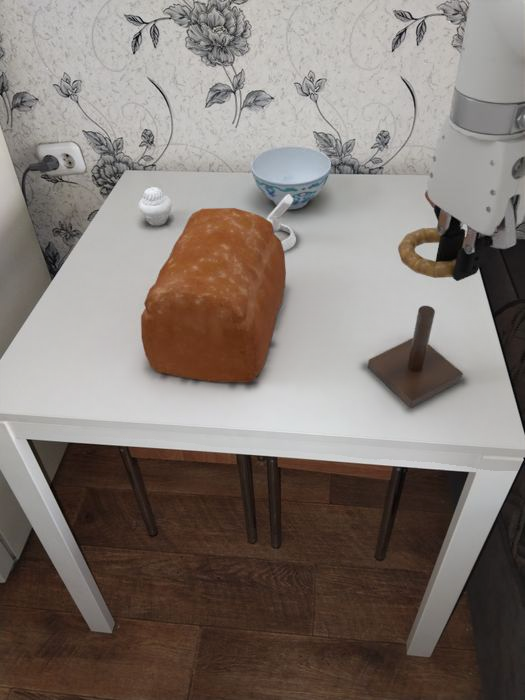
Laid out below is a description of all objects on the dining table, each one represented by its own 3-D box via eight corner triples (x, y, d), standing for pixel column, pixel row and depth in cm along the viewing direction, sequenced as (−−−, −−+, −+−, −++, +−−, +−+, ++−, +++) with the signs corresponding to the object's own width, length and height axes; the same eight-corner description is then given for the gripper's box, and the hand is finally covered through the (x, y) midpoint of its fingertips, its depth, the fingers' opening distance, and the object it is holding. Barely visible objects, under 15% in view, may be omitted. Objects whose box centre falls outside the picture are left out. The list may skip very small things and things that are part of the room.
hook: (311, 238, 97) (275, 214, 95) (276, 270, 107) (244, 249, 105) (323, 207, 101) (289, 183, 99) (289, 241, 111) (258, 220, 109)
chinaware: (329, 182, 121) (331, 146, 115) (328, 222, 110) (330, 184, 104) (257, 181, 122) (255, 145, 117) (248, 220, 111) (246, 183, 106)
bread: (289, 281, 98) (289, 201, 87) (259, 389, 80) (255, 305, 70) (190, 271, 100) (179, 193, 90) (141, 374, 83) (120, 291, 73)
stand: (461, 380, 80) (479, 317, 72) (410, 408, 77) (424, 345, 69) (416, 342, 86) (428, 279, 78) (367, 367, 83) (375, 304, 75)
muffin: (149, 211, 115) (143, 178, 110) (178, 214, 114) (173, 181, 109) (136, 228, 111) (129, 194, 106) (166, 232, 109) (160, 198, 104)
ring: (490, 264, 69) (494, 251, 67) (433, 289, 66) (435, 276, 64) (438, 230, 74) (440, 217, 73) (383, 252, 71) (384, 239, 70)
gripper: (593, 129, 51) (533, 296, 64) (463, 74, 61) (434, 227, 74) (530, 151, 48) (481, 320, 61) (405, 90, 59) (386, 245, 71)
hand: (455, 268), depth 67 cm, fingers closed on ring, 2 cm apart
